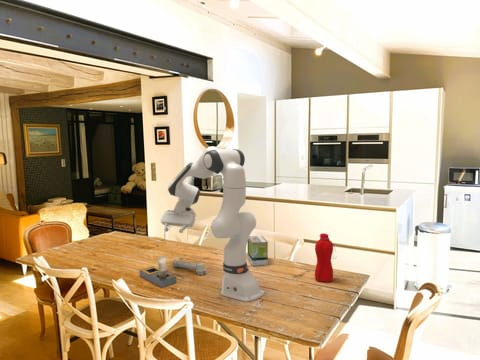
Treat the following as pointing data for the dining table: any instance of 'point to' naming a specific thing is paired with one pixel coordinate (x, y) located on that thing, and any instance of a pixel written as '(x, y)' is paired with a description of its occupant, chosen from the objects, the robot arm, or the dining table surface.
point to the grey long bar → (190, 266)
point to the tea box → (257, 250)
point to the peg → (162, 266)
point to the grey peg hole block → (157, 277)
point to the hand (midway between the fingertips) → (173, 231)
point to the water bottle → (324, 259)
